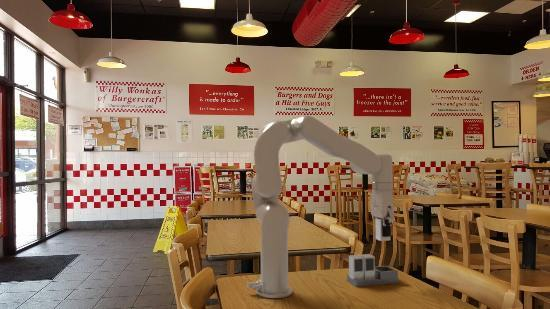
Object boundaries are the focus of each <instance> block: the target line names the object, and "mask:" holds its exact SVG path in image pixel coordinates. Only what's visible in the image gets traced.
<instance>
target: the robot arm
mask: <svg viewBox="0 0 550 309" xmlns="http://www.w3.org/2000/svg"><path fill="white" fill-rule="evenodd" d="M301 140H305V141H306V142H308V143H309V144H311V145H312V146H314V147H316V148H317V149H319V150H320V151H322V152H323V153H325V154H326V155H329V156H331V157H335V158H339V159H343V161H344V160H345V161H346V162H349V166H350V170H351V171H353V172H354V173H356V174H359V175H371V188H372V189H371V197H370V215H371V216H373V217H374V219H375V218H382V220H383V226H382V236H383V237H390V238H391V235H392V233H391V232H392V231H391V229H392V228H391V226H392V223H393V221H394V216H395V209H394V208H395V207H394V194H393V191H394V190H393V189H394V184H393V182H394V180H393V172H394V171H393V157H392V155H391V154H388V153H386V154H385V153H383V154H382V153H381V154H379V153H378V154H377V153H375V152H374V151H372V150H370V149H369V148H368V147H366V146H364V145H363V144H361V143H359V142H356V141H355V140H352V139H350V138H348V137H346V136H344V135H342V134H340V133H339V132H337V131H335V130H334V129H332V128H331V127H329V126H327V125H326V124H325V123H324V122H322V121H320V120H319V119H317V118H316V117H314V116H312V115H307V114H306V115H302V116H299V117H296V118H293V119H287V120H283V121H282V120H276V121H272V122H270V123H267V124H266V125H264V126H263V127H262V128H261V131H260V135H258V138H257V140H256V142H255V146H254V149H253V150H254V152H253V157H254V159H253V160H254V161H253V162H254V169H255V174H254V176H253V178H252V180H251V183H250V184H251V195H252V202H253V208H254V213H255V218H256V219H257V221H258V222H259V224H261V230H260V231H261V233H260V277H259V278H258V280H256V281H252V282H249V281H248V282H247V283H246V284H247V289H252V290H256V294H257V295H258V296H259V297H263V298H268V299H281V298H286V297H289V296H291V295H292V294H293V288H292V286H289V246H288V245H289V242H288V241H289V227H290V215H289V214H290V213H289V211H288V208H286V207H285V206H284V205H283V204H282V203H280V202H279V198H278V197H279V195H281V193H282V191H283V181H282V176H281V169H280V161H279V159H280V158H279V156H280V155H279V153H280V150H281V147H282V146H283V145H284V144H288V143H293V142H294V143H295V142H298V141H301ZM385 219H388V220H386V222H385Z"/></svg>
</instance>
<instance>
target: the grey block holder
mask: <svg viewBox="0 0 550 309" xmlns="http://www.w3.org/2000/svg"><path fill="white" fill-rule="evenodd" d="M375 259H376V258H375V256H374V255H372V254H370V253H367V254H366V253H365V254H363V253H362V254H349V255H348V274H347V275H346V281H347V282H348V283H350V284H352V285H353V286H354V287H356V288H357V287H371V286H372V287H373V286H380V285H391V284H392V285H393V284H399V282H400V280H399V270H396V269H395V268H393V267H390V266H389V265H379V266H376V265H375Z"/></svg>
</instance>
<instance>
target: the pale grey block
mask: <svg viewBox="0 0 550 309" xmlns="http://www.w3.org/2000/svg"><path fill="white" fill-rule="evenodd" d="M386 220H388V219H385V222H386ZM374 223H375V240H377V241H378V242H379V241H380V242H385V241H386V242H387V241H391V240H392V239H391V236H390V237H383V236H382V226H383V220H382V218H374Z"/></svg>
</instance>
